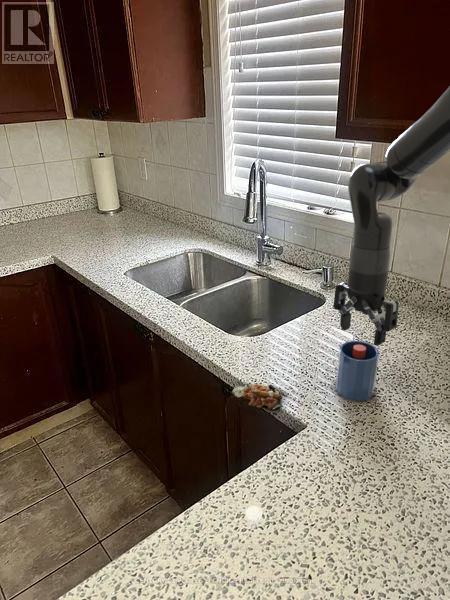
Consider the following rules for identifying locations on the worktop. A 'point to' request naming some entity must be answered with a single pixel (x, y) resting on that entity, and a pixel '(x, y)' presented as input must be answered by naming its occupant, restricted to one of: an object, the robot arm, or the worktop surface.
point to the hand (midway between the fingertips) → (361, 336)
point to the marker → (359, 352)
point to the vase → (356, 372)
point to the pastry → (260, 395)
